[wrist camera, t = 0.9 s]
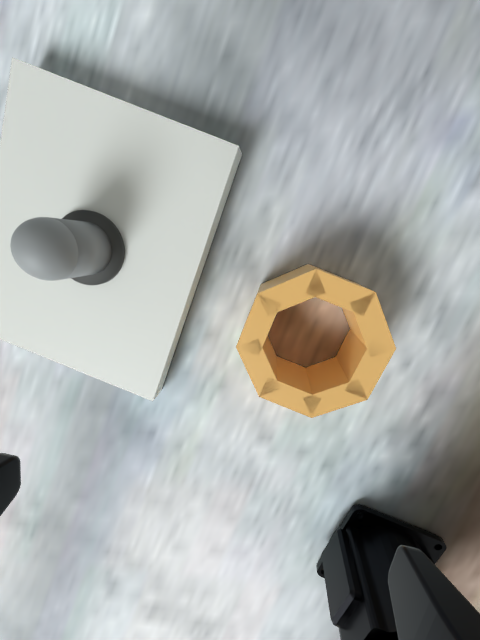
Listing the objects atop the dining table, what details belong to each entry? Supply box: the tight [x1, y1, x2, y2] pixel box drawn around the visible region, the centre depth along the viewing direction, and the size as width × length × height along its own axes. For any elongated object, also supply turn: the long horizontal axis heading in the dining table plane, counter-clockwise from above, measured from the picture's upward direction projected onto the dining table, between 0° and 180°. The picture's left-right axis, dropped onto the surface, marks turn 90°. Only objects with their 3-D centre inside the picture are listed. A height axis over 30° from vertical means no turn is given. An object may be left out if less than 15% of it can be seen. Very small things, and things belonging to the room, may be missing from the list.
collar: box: [236, 264, 396, 418], centre depth 16 cm, size 7×7×4 cm
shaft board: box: [0, 58, 242, 401], centre depth 15 cm, size 12×15×6 cm
